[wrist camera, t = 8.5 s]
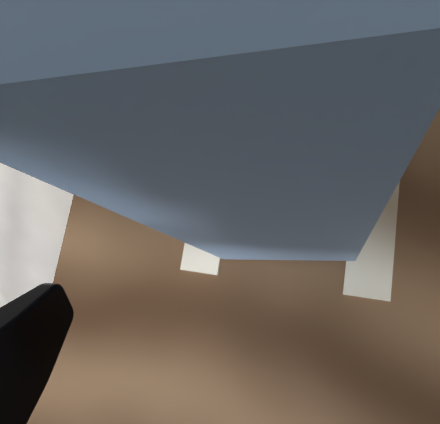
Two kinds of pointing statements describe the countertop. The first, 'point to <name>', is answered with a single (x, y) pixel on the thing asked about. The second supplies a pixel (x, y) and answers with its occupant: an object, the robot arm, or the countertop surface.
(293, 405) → the board
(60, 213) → the countertop surface
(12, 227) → the countertop surface
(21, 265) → the countertop surface
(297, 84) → the light blue block
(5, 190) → the countertop surface
